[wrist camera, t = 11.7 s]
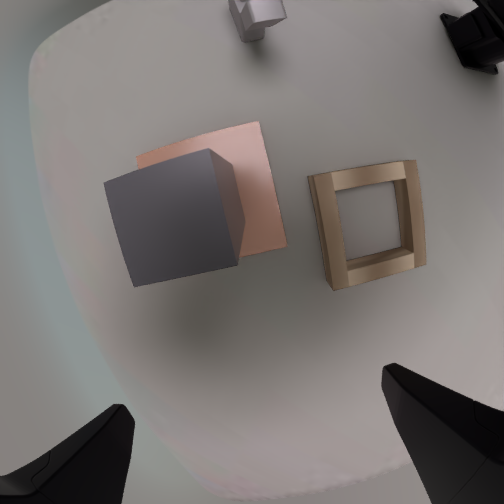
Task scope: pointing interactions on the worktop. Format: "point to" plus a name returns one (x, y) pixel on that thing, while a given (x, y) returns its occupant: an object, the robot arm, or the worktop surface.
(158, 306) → the worktop surface
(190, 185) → the dark grey block
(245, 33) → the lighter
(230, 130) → the tile
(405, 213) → the wooden square frame
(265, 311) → the worktop surface
